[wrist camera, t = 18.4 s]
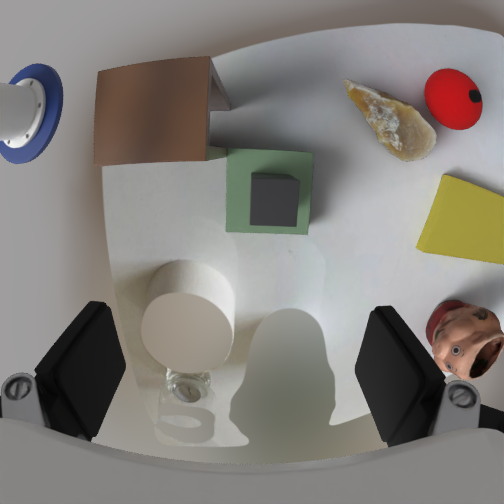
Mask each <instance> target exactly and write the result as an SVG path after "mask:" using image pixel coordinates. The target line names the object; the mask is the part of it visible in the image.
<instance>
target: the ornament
mask: <svg viewBox="0 0 504 504" xmlns="http://www.w3.org/2000/svg"><path fill="white" fill-rule="evenodd" d="M424 96H425V101H426V104H427V107H428V109H429V111H430V113H431V114H432V116H433V117H434V118H435V119H436V120H437V121H438V122H439V123H441V124H442V125H444V126H446V127H448V128H450V129H455V130H464V129H468V128H470V127H472V126H473V125H475V123H476V122H477V121H478V120H479V118H480V116H481V112H482V107H483V106H482V97H481V94H480V92H479V89H478V88H477V86H476V84H475V83H474V82H473V81H472V80H471V79H470V78H469V77H468V76H467V75H466V74H464V73H462V72H460V71H458V70H454V69H441V70H438V71H436V72H434V73H433V74H432V75H431V76H430V77H429V79H428V80H427V82H426V85H425V90H424Z"/></svg>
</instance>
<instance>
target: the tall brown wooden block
mask: <svg viewBox="0 0 504 504" xmlns="http://www.w3.org/2000/svg"><path fill="white" fill-rule="evenodd" d="M230 110H231V103H230V101H229V99H228V96H227V94H226V92H225V89H224V87H223V85H222V82H221V80H220V78H219V76H218V73H217V71H216V69H215V67H214V64H213V62H212V60H211V57H210V56H204V57H189V58H177V59H167V60H160V61H152V62H145V63H139V64H133V65H128V66H122V67H117V68H112V69H107V70H103V71H99V72H98V77H97V87H96V100H95V118H94V119H95V120H94V167H99V166H109V165H121V164H136V163H153V162H179V161H208V160H213V159H218V158H223V157H227V148H221V147H214V146H209V127H210V111H230Z"/></svg>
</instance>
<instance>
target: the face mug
mask: <svg viewBox="0 0 504 504" xmlns="http://www.w3.org/2000/svg"><path fill="white" fill-rule="evenodd" d="M426 337H427V339H428V341H429V343H430V345H431V346H432V352H433V354H434V361H435V362H436V364H437V365H438V367H439V368H440V369H441V370H442V371H445V372H451V373H453V374H455V375H456V376H458V377H459V378H460V379H463V380H474V379H477V378H479V377H481V376H483V375H484V374H485V373H487V372H488V371H489V370H490V369H491V367H492V366H493V365H494V364H495V362H496V361H497V359H498V358H499V356H500V354H501V352H502V350H503V349H504V333H503V332H502V330H501V327H500V322H499V320H498V318H497V316H496V315H495V314H494V313H493V312H491V311H489V310H488V309H486V308H482V307H477V306H474V305H471V304H466V303H463V302H461V301H459V300H451V301H446V302H444V303H442V304H441V305H439V306H438V307H437V308H436V310H435V311H434V312H433V313H432V315H431V317H430V319H429V321H428V323H427V327H426Z"/></svg>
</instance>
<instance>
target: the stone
mask: <svg viewBox="0 0 504 504" xmlns="http://www.w3.org/2000/svg"><path fill="white" fill-rule="evenodd" d="M344 84H345V88H346V90H347V93H348V97H349V98H350V99H351V100H352V101H354V102H355V104H356V106H357V107H358V108H359V109H360V110H361V111H362V112H363V115H364V117H365V118H366V120H367V122H368V123H369V124H370V125H371V127H372V128H373V129H374V130H375V132H376V135H377V139H378V141H379V142H380V143H382V144H383V145H385V146H386V147H387V148H388V150H389V151H390V153H391V154H393V155H395V156H396V157H398V158H399V159H401V160H402V161H406V162H408V161H414V160H420V159H424V158H425V157H427V156H428V155H429V154H430V152H431V151H432V149H433V148H434V146H435V145H436V139H437V137H436V132H435V130H434V128H432V127H431V126H430V124H429V123H428V122H427V121H426V120H425V119H424V118H423V117H422V116H421V114H420V113H419V112H418V111H417V110H415V109H414V108H413V107H412V106H411V105H409V104H408V103H405V102H403V101H400V100H398V99H396V98H394V97H392V96H391V95H389V94H387V93H384V92H381V91H378V90H376V89H373V88H370V87H367V86H364V85H361V84H359V83H357V82H354V81H351V80H348V79H344Z"/></svg>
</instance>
